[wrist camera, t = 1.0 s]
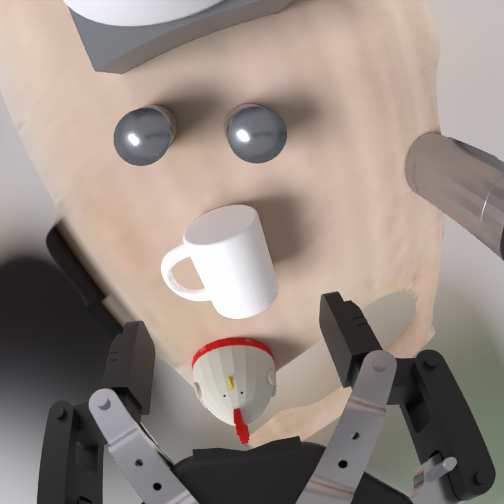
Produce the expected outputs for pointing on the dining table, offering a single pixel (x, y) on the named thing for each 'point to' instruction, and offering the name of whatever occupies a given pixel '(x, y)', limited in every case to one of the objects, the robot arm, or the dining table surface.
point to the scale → (154, 26)
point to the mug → (227, 262)
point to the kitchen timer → (235, 380)
